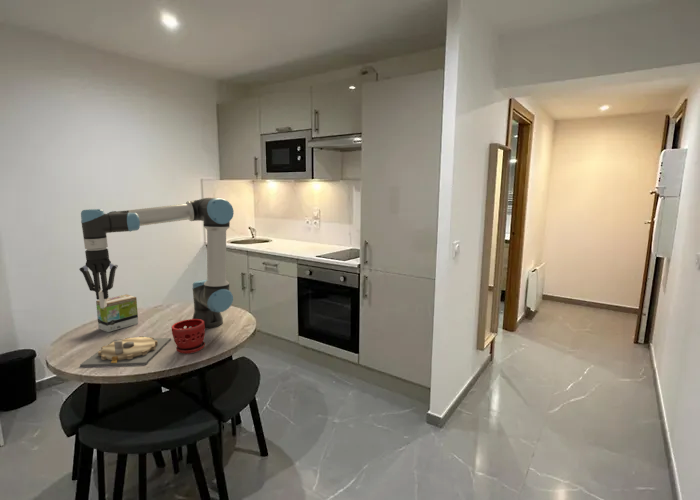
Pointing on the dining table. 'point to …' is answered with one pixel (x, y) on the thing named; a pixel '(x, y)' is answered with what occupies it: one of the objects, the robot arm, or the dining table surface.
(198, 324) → the plant pot
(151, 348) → the sprocket
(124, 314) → the tea box
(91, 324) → the dining table surface
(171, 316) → the dining table surface
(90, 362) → the sprocket base
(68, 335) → the dining table surface
